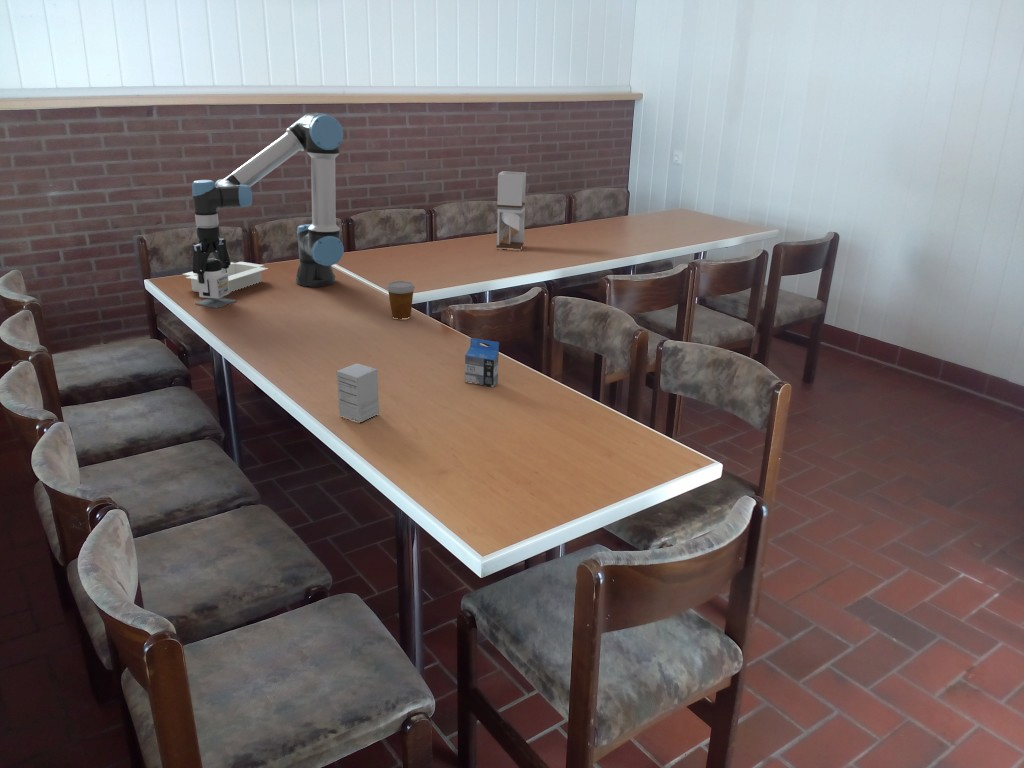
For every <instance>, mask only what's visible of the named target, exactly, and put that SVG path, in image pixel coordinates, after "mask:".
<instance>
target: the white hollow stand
mask: <svg viewBox="0 0 1024 768" xmlns="http://www.w3.org/2000/svg"><path fill="white" fill-rule="evenodd" d="M526 182H527V172H521V171H520V172H519V171H505V170H504V171H503V170H502V171H501V172H499V173H498V174H497V198H496V199H497V203H496V204H497V205H496V207H497V208H496V210H497V211H496V213H497V226H496V227H497V229H496V230H497V231H496V248H513V249H521V247H522V246H523V244H524V243H525V217H526V216H525V213H526V210H525V209H526V187H527V185H526ZM524 245H525V244H524ZM521 250H522V249H521Z"/></svg>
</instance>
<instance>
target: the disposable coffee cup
mask: <svg viewBox="0 0 1024 768" xmlns="http://www.w3.org/2000/svg"><path fill="white" fill-rule="evenodd" d="M386 290H387V292H388V298H389V304H390V311H391V317H394V318H398V319H402V318H408V317H410V316H412V315H411V314H412V307H413V299H414V298H413V297H414V291H415V286H414V283H413V282H411V281H406V280H396V281H395V280H394V281H390V282H389V283H388V284H387V286H386Z"/></svg>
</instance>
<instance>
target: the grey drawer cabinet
mask: <svg viewBox="0 0 1024 768" xmlns="http://www.w3.org/2000/svg"><path fill="white" fill-rule="evenodd" d="M336 381H337V382H336V383H337V398H338V400H337V401H338V414H339V415H340V416H344V417H346V418H349V419H351V420H355V421H357V422H362V421H364V420H366V419H369V418H371V417H373V416H375V415H377V414H379V415H380V400H379V399H380V398H379V397H380V396H379V379H378V369H376V368H374V367H371V366H368V365H364V364H360V363H354V364H352V365H351V364H350V365H349V366H347V367H344V368H341V369H340V370H339V369H338V370H337V371H336ZM340 416H339V417H340ZM377 416H378V415H377ZM375 417H376V416H375ZM373 418H374V417H373ZM371 419H372V418H371ZM369 420H370V419H369Z"/></svg>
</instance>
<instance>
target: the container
mask: <svg viewBox="0 0 1024 768" xmlns="http://www.w3.org/2000/svg"><path fill="white" fill-rule="evenodd" d="M204 274H206V275H207V284H208V293H206V292H201V287H200V283H199V279H198V276H197V279H198V288H199V292H198V295H199V298H206V299H209V298H216V299H219V298H221V297H222V298H224V297H226V296H227V295H229V294H230V293H231V292H230V291H229V281H228V273H223V272H222V267H221V261H220V260H218V259H216V258H208V260H207V264H206V269H205V273H204Z"/></svg>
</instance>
